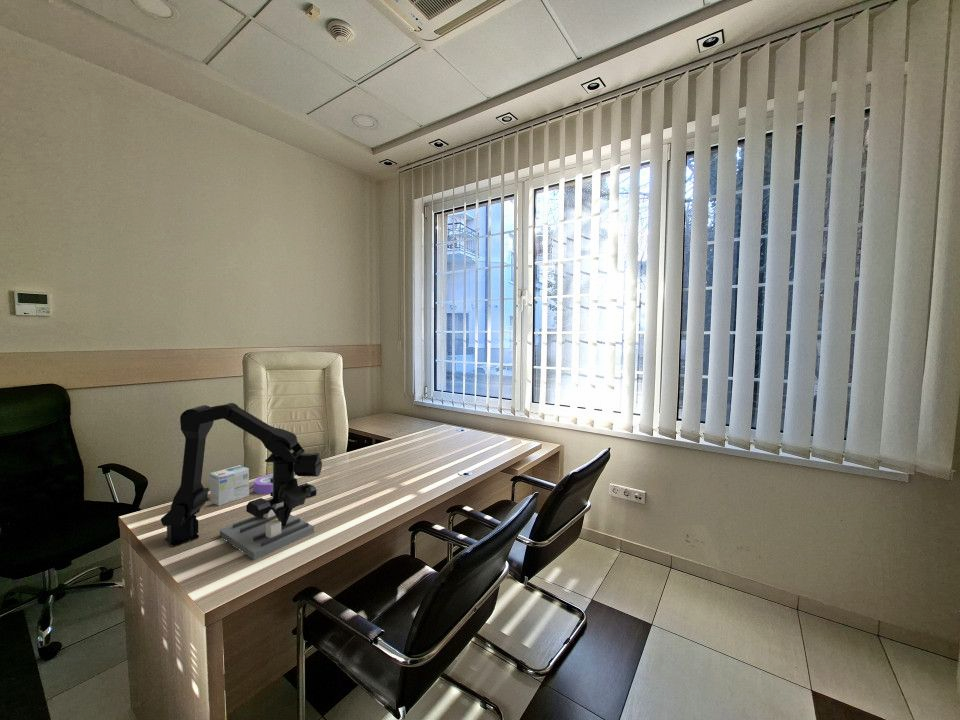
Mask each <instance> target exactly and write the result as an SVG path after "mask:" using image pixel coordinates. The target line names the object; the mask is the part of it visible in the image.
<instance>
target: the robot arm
mask: <svg viewBox="0 0 960 720" xmlns="http://www.w3.org/2000/svg"><path fill="white" fill-rule="evenodd" d="M223 419H224V420H225V421H227V422H229V423H230V424H233V425H234V426H236V427H238V428H239V429H241V430H242V431H244V432H245V433H248V434H249V435H251V436H253V437H255V438H256V439H257V440H259V441H260V442H261V443H262V445H264V448H265V449H267V450H268V451H269V452H270V455H269V457H267V458H266V459H265V460H264V462H265V463H272V474H273V478H272V479H270V482H271V483H273V492H270V494H269V496H270V497H272V498H269V499H268V500H266V499H265V498H262V497H259V498H256V499H254V500H251V501H248V502H247V504H246V506H245V507H246V509H245V510H246V513H249V514H250V515H252V517H254V516H255V517H259V516H262V515H265V514H267V513H269V511H270V510H273V512H274V513H275V515H276V517H277V519H278V521H280V522H281V526H282V527H284V526H286V523H287V521H288V518H289V515H290V514H291V513H292V511H293V509H295V508H296V507H299V506H302V505H304V504H305V502H306V499H310V498H312V497H315V496H317V495H318V494H317V491H318V489H317V487H316V486H314V485H313V484H310V483H308V482H304V483H302V484H298V479H297V478H296V477H295V476H297V477H309V478H310V477H312V478H313V477H315V478H316V477H317V478H318V477H320V476H321V471H322V469H323V467H322V466H323V461H322V458H321V457H320V453H319V452H314V453H306V451H305V449H304V448H303V447H302V445H301V444H300V443H299V442H298V436H297V435H296V434H295V433H293V432H292V431H289V430H286V429H283V428H278V427H274V426H272V425H271V424H268V423H267V422H264V420H261V419H260V418H259V417H257V416H255V415H253V414H251V413H250V412H248V411H247V410H244V409H243V408H242V407H239V405H238V404H237V403H234V402H229V403H225V404H221V405H220V404H219V405H215V406H210V405H206V404H203V405H199V406H196V407H192V408H188V409H186V410H184V411H183V412H181V414H180V417H179V422H180V424H179V425H180V431H181V433H182V434H183V436H184V439H185V440H184V448H183V458H182V459H183V460H182V468H181V469H182V471H181V479H180V485H179V487H178V489H177V491H176V493H175V495H174V496H173V498H172V502H171V505H170V510H169V511H168V512H167V513H165V515H163V516H162V517H161V518H160V523H161V524H162V526H164V527H166V537H164V541H165V542H166V541H167V542H166V543H168V544H169V545H170V546H171V547H177V546H180V545H182V543H183V544H185V543H187V541H188V542H190V541H189V540H191V541H193V539H194V540H196V539H199V538H198V537H200V535H199V519H197V515H196V514H198V513H200V510H201V508H203V506H205V504H206V502H208V501H209V497H208V494H209V492H210V487H204V486H203V483H202V478H203V477H202V476H203V468H204V459H205V451H206V450H205V449H206V443H207V442H206V440H207V436H208V434H209V432H210V431H211V429H212V427H213V425H214V423H215V422H214V421H217V420H218V421H219V420H223ZM291 451H292V452H291ZM195 538H196V539H195ZM184 542H185V543H184ZM179 544H180V545H179ZM176 545H177V546H176Z"/></svg>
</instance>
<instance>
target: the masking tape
mask: <svg viewBox="0 0 960 720" xmlns="http://www.w3.org/2000/svg"><path fill="white" fill-rule="evenodd" d="M272 478H273V473H272V474H266V475H262V476H259V477H256V479H254V480H253V492H254V493H255V494H258V495H270V492H273V483H271V482H270V479H272Z"/></svg>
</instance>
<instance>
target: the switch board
mask: <svg viewBox="0 0 960 720" xmlns="http://www.w3.org/2000/svg"><path fill="white" fill-rule="evenodd" d="M274 519H277V517H276V515H275V516H272V517H270V518H267V519H266V518H264V517H263V515H262V516H259V517H255V516H251V517H248V518H247V519H243V520H240V521H239V522H236V523H233V524H232V525H230V526H227V527H224V528H222V529H219V537H220V536H221V537H222V538H223V539H222V538H221V537H220V538H221V539H222V540H224V539H225V540H227V541H228V542H229V544H230V543H231V544H232V545H231V544H230V545H231V546H233V545H234V546H235V548H236V547H237V548H238V549H237V548H236V549H237V550H239V549H240V550H241V551H240V550H239V551H240V552H242V551H243V552H244V553H243V552H242V553H243V554H245V553H246V554H247V555H246V554H245V555H246V556H248V557H249V558H251V559H252V560H253V561H255V560H257V559H259V558H262V557H264V556H266V555H268V554H271V553H272V552H275V551H276V550H279V549H281V548H283V547H285V546H288V545H289V544H292V543H294V542H296V541H299V540H301V539H303V538H306V537H308V536H309V535H312V534H313V533H315V526H314V525H313V524H310V523H309V522H306V521H304V520H302V519H301V518H299V517H296V516H295V515H292V514H291V513H290V515H289V518H288V521H287V523H286V526H284V527H282V526H281V534H279V535H276V536H274V537H272V538H268V537H266V523H267V522H269V521H272V520H274ZM277 520H278V519H277ZM225 540H224V541H225ZM227 541H226V542H227ZM228 542H227V543H228ZM234 546H233V547H234Z"/></svg>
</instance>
